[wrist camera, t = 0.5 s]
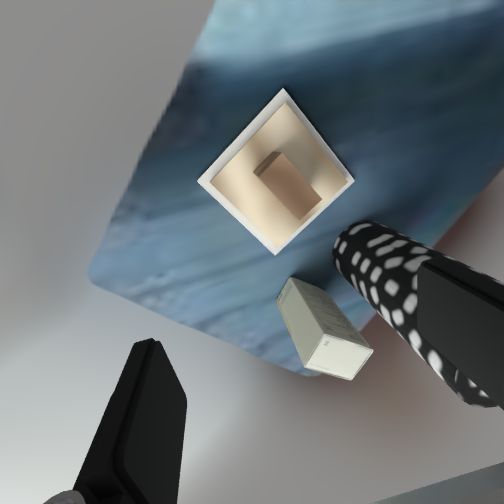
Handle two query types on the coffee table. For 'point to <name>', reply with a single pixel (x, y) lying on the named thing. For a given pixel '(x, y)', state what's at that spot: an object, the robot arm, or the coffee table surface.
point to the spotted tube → (399, 291)
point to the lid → (279, 177)
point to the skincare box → (321, 331)
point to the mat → (242, 139)
